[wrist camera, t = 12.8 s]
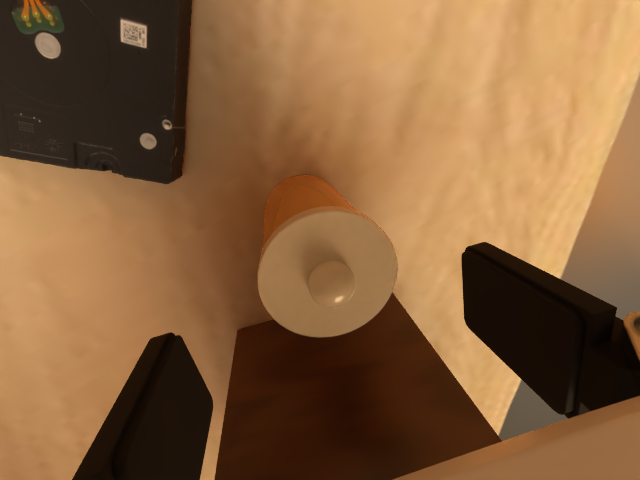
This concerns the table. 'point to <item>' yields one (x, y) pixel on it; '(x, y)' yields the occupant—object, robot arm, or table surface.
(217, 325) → the table surface
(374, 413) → the shelf
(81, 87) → the disk drive
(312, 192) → the canister
